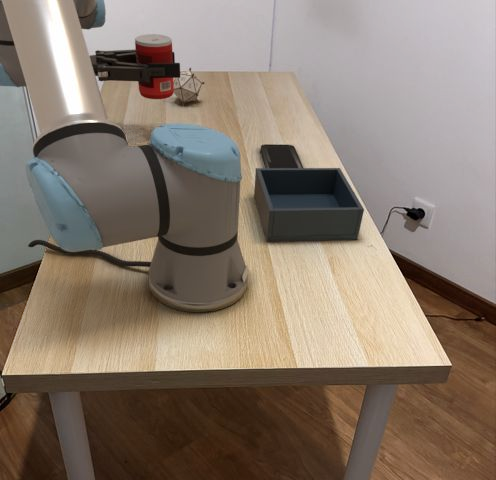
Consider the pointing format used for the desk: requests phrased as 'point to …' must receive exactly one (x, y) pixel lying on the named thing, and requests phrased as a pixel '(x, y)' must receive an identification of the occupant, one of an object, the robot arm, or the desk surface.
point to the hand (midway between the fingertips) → (176, 64)
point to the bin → (306, 204)
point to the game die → (187, 86)
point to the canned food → (155, 51)
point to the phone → (280, 156)
